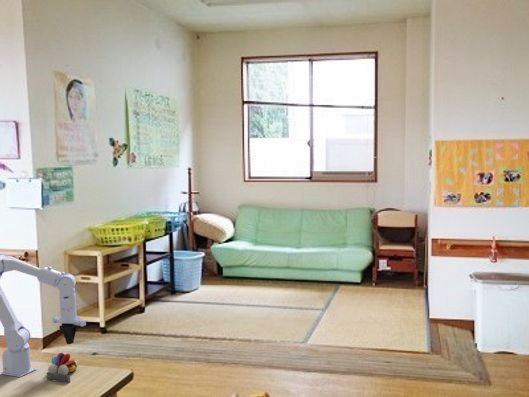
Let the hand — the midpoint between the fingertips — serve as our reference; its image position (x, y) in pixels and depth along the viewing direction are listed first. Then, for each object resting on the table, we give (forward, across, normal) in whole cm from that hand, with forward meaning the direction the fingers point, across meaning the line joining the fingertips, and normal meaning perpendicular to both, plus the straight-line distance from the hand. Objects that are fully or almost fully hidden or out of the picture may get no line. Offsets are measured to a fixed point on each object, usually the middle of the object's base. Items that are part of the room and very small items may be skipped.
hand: (70, 343), depth 212 cm
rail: (+9, -5, +11) cm, 16 cm away
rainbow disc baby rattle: (+10, 0, +4) cm, 11 cm away
